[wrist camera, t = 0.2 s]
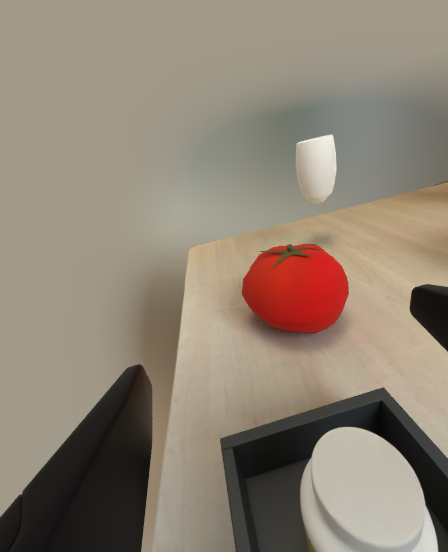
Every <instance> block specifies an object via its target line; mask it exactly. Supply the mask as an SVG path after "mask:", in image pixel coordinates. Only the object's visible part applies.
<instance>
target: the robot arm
mask: <svg viewBox="0 0 448 552" xmlns="http://www.w3.org/2000/svg"><path fill="white" fill-rule="evenodd" d="M410 312H411V314H412V316H413V317H414V318H415V319H416V320H417V321H418V322H419V323H420V324H421V325H422V326H423V327H424V328H425V329H426V330H427V331H428V332H429V333H430V334H431V335H432V336H433V337H434V338H435V339H436V340H437V341H438V342H439V343H440V344H441V345H442V346H443V347H444V348H445V349H446V350H447V351H448V287H444V286H437V285H430V284H425V285H421V286H418V287H415V288H414V289H413V290H412V293H411V302H410ZM151 450H152V385H151V382H150V380H149V378H148V376H147V374H146V372H145V369H144V367H143V366H142V365H140V364H139V365H135V366H131V367H128V368H127V369H126V370H125V371H124V372H123V374H122V375H121V376H120V377H119V378H118V379H117V381H116V382H115V383H114V384H113V385H112V386H111V388H110V389H109V390H108V391H107V392H106V393H105V395H104V396H103V397H102V398H101V399H100V401H99V402H98V403H97V404H96V405H95V406H94V408H93V409H92V410H91V411H90V412H89V414H88V415H87V416H86V417H85V419H84V420H83V421H82V422H81V423H80V424H79V425H78V427H77V428H76V429H75V430H74V431H73V432H72V434H71V435H70V436H69V437H68V438H67V440H66V441H65V442H64V443H63V444H62V445H61V447H60V448H59V449H58V450H57V451H56V452H55V454H54V455H53V456H52V457H51V458H50V460H49V461H48V462H47V463H46V464H45V465H44V467H43V468H42V469H41V470H40V471H39V472H38V474H37V475H36V476H35V477H34V479H33V480H32V481H31V482H30V483H29V484H28V485H27V487H26V488H25V489H24V490H23V493H22V495H19V496H18V497H17V499H15V501H14V502H13V503H12V504H11V506H10V507H9V508H8V509H7V510H6V511H5V512H4V514H3V515H2V516H1V517H0V552H141V547H142V537H143V526H144V518H145V508H146V498H147V489H148V479H149V469H150V459H151Z"/></svg>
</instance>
